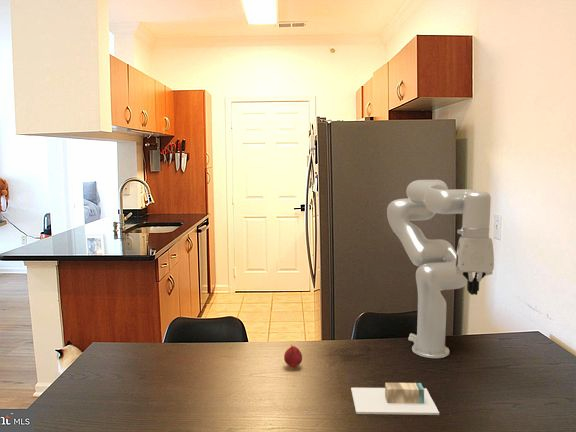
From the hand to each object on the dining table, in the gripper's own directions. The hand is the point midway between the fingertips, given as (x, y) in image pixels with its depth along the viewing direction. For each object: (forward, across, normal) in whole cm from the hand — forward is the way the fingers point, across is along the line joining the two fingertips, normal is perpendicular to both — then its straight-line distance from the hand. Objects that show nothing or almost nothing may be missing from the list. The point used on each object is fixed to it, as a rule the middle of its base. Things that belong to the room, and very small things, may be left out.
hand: (472, 293), depth 151 cm
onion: (+27, -54, +7) cm, 61 cm away
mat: (+27, -26, -15) cm, 40 cm away
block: (+24, -28, -15) cm, 40 cm away
